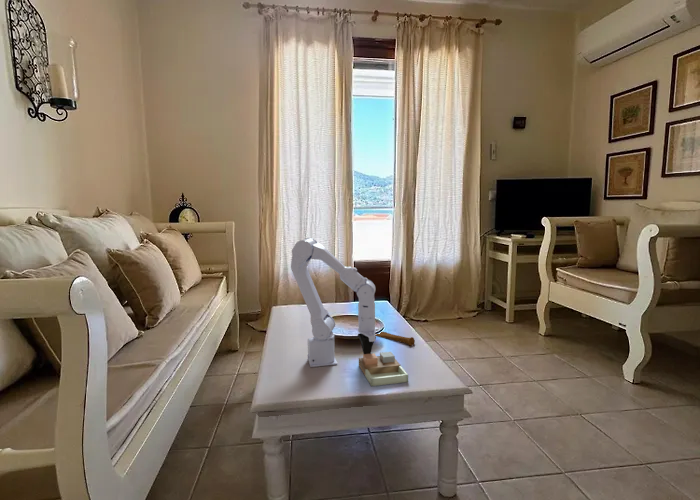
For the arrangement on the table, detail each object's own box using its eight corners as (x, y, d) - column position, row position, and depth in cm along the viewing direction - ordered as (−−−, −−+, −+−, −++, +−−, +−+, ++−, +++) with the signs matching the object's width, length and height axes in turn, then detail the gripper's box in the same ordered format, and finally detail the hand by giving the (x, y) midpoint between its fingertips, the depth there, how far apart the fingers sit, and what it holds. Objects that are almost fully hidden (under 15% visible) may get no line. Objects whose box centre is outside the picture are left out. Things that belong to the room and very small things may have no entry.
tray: (371, 386, 121) (371, 379, 121) (365, 376, 128) (365, 369, 127) (408, 382, 124) (408, 374, 123) (400, 372, 130) (400, 365, 130)
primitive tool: (373, 336, 166) (373, 328, 166) (381, 332, 170) (381, 325, 170) (410, 348, 153) (410, 339, 153) (418, 344, 157) (418, 335, 156)
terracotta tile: (365, 364, 130) (365, 358, 130) (362, 360, 134) (362, 354, 134) (377, 363, 131) (377, 357, 131) (374, 358, 135) (374, 353, 135)
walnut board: (365, 376, 128) (365, 368, 127) (358, 365, 136) (358, 358, 136) (400, 372, 130) (400, 365, 130) (391, 361, 139) (391, 354, 139)
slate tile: (383, 362, 132) (383, 357, 132) (379, 358, 136) (379, 352, 135) (394, 361, 133) (394, 356, 132) (390, 357, 137) (390, 351, 136)
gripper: (384, 321, 129) (384, 361, 131) (372, 309, 143) (372, 345, 145) (363, 323, 127) (363, 363, 129) (353, 311, 142) (353, 347, 143)
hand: (366, 354), depth 137 cm, fingers closed
